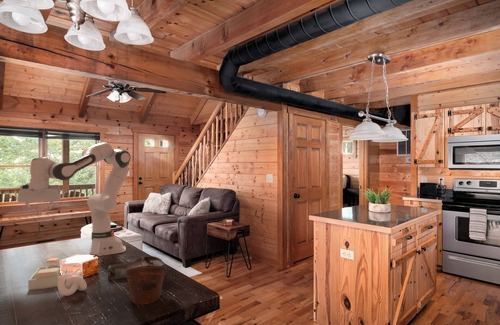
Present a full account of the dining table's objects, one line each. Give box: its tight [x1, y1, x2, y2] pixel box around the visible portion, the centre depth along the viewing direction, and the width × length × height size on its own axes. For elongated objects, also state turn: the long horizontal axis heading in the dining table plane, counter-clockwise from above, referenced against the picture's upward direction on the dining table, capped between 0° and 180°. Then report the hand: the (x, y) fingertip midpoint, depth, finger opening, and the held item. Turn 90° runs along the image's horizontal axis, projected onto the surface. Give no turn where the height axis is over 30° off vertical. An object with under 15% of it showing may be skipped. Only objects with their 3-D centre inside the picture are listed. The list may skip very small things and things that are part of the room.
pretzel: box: [57, 269, 88, 297], centre depth 141 cm, size 11×12×9 cm
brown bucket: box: [125, 255, 168, 306], centre depth 136 cm, size 18×20×18 cm
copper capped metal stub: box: [45, 257, 60, 269], centre depth 156 cm, size 5×5×9 cm
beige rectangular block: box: [36, 268, 60, 279], centre depth 148 cm, size 9×6×7 cm, turn 112°
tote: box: [27, 264, 67, 291], centre depth 152 cm, size 14×18×5 cm
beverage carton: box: [107, 261, 134, 281], centre depth 162 cm, size 8×19×7 cm, turn 111°
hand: (39, 209), depth 168 cm, fingers open, 8 cm apart
